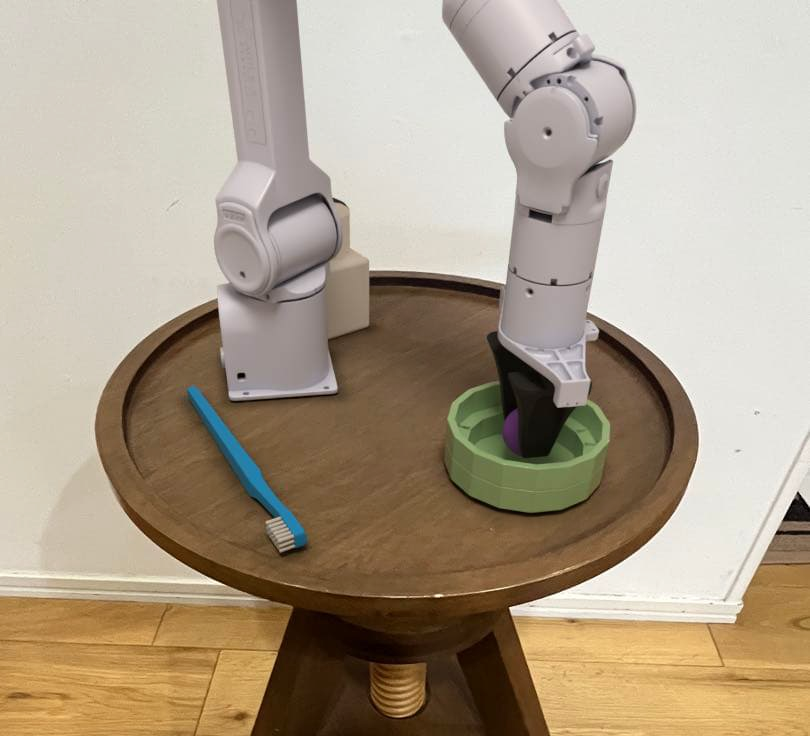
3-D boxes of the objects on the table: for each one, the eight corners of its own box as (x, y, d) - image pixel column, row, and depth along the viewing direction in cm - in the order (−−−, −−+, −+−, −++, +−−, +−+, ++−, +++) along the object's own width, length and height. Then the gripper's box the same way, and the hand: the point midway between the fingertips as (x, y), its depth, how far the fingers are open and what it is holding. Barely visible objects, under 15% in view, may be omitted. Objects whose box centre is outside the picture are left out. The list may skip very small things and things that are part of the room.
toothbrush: (202, 399, 74) (179, 405, 74) (198, 380, 73) (175, 386, 72) (308, 548, 59) (281, 558, 58) (305, 527, 58) (278, 537, 57)
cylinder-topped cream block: (272, 318, 86) (262, 197, 78) (331, 301, 89) (327, 183, 81) (309, 346, 82) (303, 222, 74) (370, 327, 85) (370, 206, 77)
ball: (507, 470, 65) (513, 425, 62) (494, 440, 68) (499, 397, 65) (557, 465, 65) (565, 421, 63) (542, 436, 68) (549, 393, 66)
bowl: (465, 524, 62) (470, 475, 59) (430, 432, 71) (433, 385, 68) (623, 509, 64) (635, 460, 61) (569, 421, 73) (578, 374, 70)
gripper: (650, 313, 52) (609, 490, 61) (572, 225, 63) (546, 386, 71) (539, 320, 51) (514, 499, 60) (479, 229, 62) (465, 392, 70)
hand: (526, 438), depth 66 cm, fingers closed on ball, 4 cm apart
